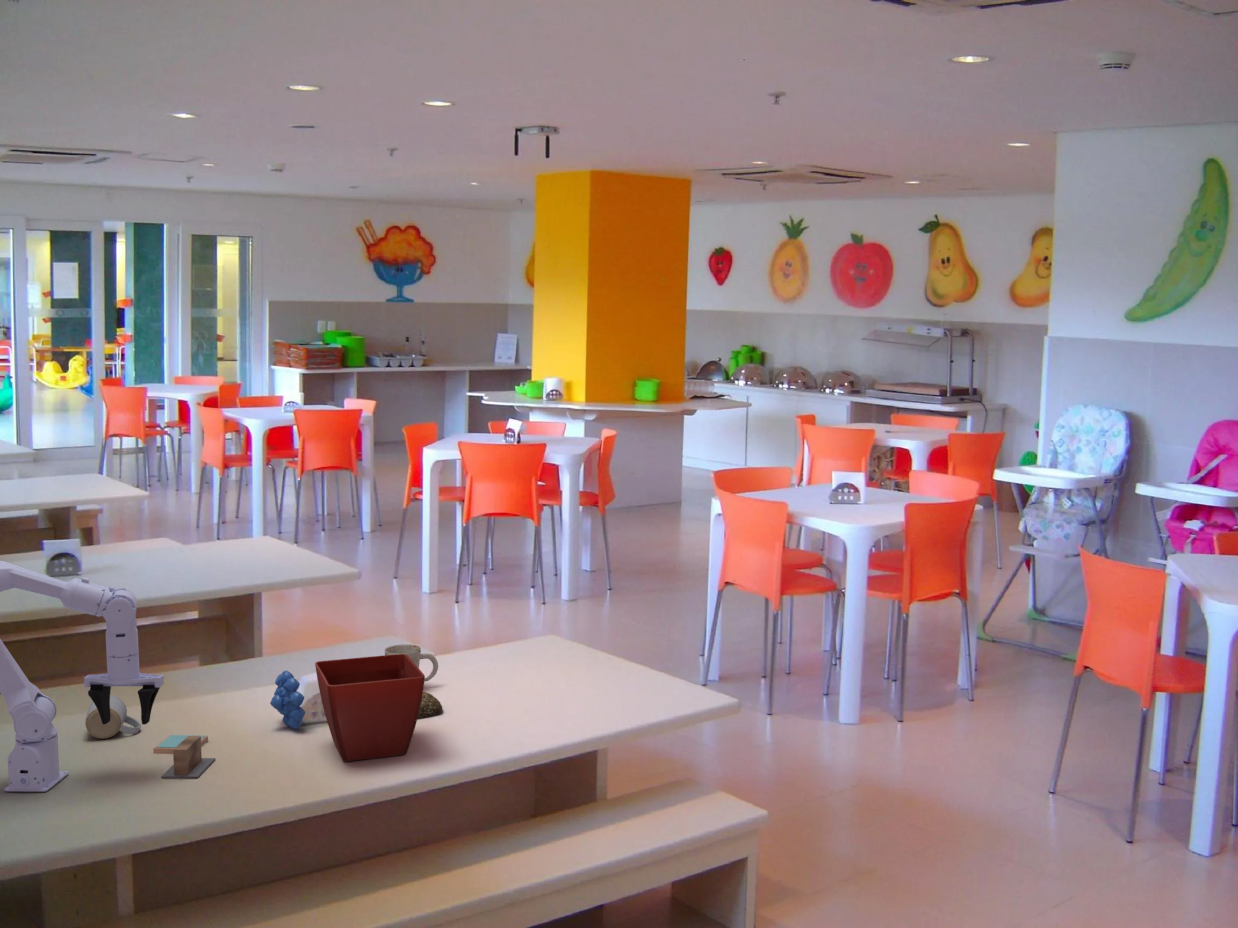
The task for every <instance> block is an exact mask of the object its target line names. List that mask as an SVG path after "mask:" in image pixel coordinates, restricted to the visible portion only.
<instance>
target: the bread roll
mask: <svg viewBox="0 0 1238 928" xmlns="http://www.w3.org/2000/svg"><path fill="white" fill-rule="evenodd" d="M442 713H443V705H442V704H441V701H439V699H438V698H436V697H435V696H434V695H433V694H431V693H428V692H426V691H424V690H423V695H422V701H421V705H420V710H419V714H418V718H417V719H423V718H430V717H435V716H438V715H441V714H442Z"/></svg>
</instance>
